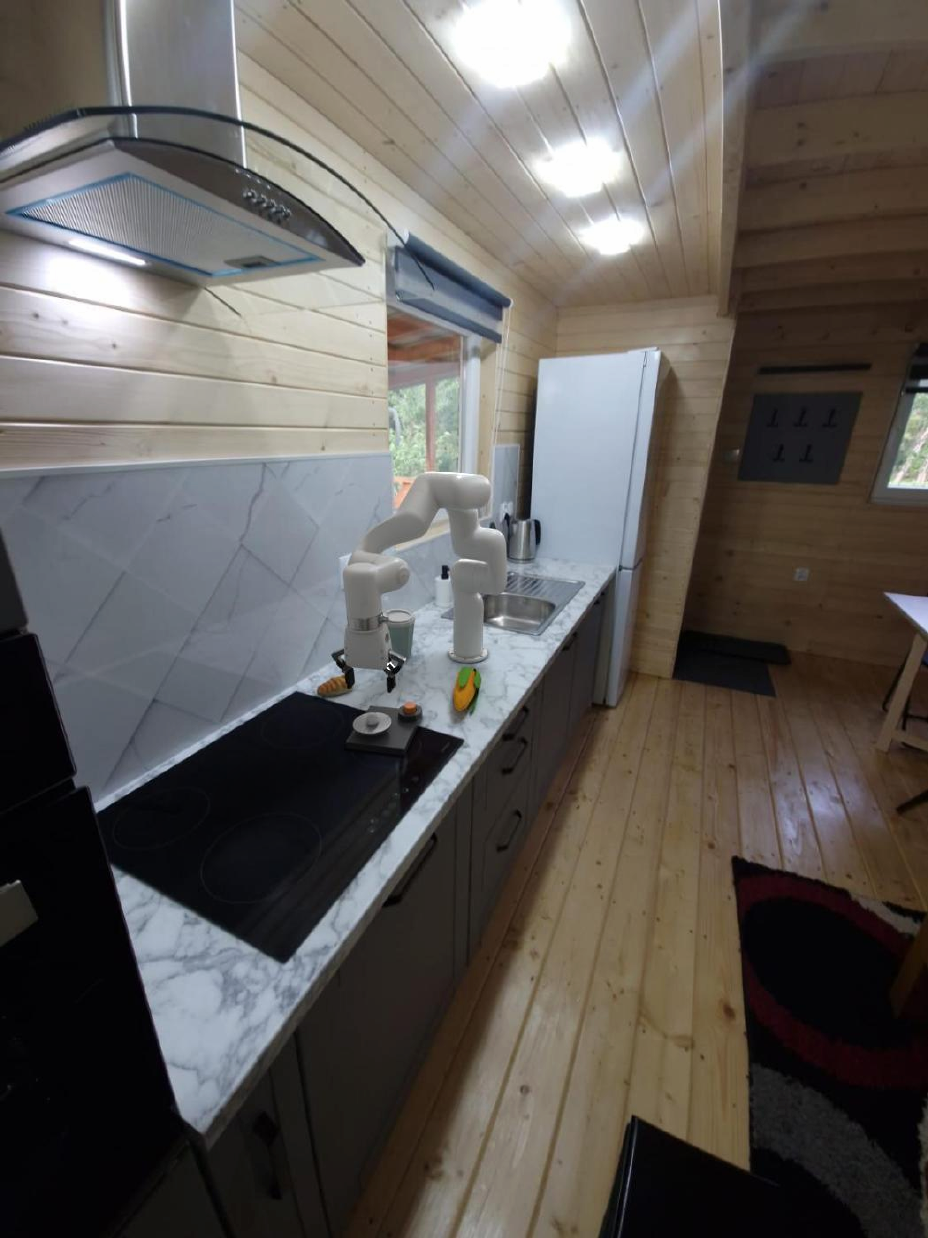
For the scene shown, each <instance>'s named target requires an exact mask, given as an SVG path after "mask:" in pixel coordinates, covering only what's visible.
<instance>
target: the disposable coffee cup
mask: <svg viewBox="0 0 928 1238" xmlns="http://www.w3.org/2000/svg"><path fill="white" fill-rule="evenodd" d="M383 615H384V616H385V617H388V618H389V621H388V623H386V624H387V627H388V631H389V634H390V639H391V645H392V651H394V652H396V653H397V654H399V655H401V656H403V657H405V658H406V661H407V660H408V659H411V655H412V648H413V640H414V632H415V623H416V615H414V613H412V612H411V611H410V610H407V609H404V608H392V609H391V608H390V609H388V610H386V611H383Z"/></svg>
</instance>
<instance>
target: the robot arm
mask: <svg viewBox="0 0 928 1238" xmlns="http://www.w3.org/2000/svg"><path fill="white" fill-rule="evenodd" d="M491 495H492V487H491V483H490V480H489V479H488V477H486V476H485V475H483V474H476V473H463V472H462V473H461V472H449V471H445V472H444V471H441V472H440V471H439V472H438V471H426V472H425V471H424V472H422V473H419V475H418V476H416V478H415V479H414V480H413V482H412V484H411V486H410V488H409V489H408V490H407V492H406V494H405V496H404V497H403V499H402V501H401V503H400V504H399V506H398V508H397V509H396V511H395V513H394V514H393V515H391V516H389V517H387V518H386V519H384V520H382V521H381V522H379V523H377V524H376V525H374V526H373V527H371V528H370V529H369V530H367V531H366V532H365V533H364V534H363V535H362V536H361V538H360V539H359V541H358V542H357V544H356V545H355V547H354V548H353V550H352V552H351V554H350V556H349V558H348V561H347V566H345V567H344V569H343V570H342V579H343V581H342V582H343V591H344V592H343V593H344V600H345V601H344V602H345V610H346V611H345V612H346V621H347V623H346V625H345V628H344V634H343V647H341V648H339V649H336V650H334V651H333V652H332V653H331V655H330V656H331V658H332V659H333V662H335V665H336V666H337V667H338V668H339V669H340V670H341V672H342V674H344V675H345V683H346V684H347V689H351V688H352V687H354V685H355V684H356V676H355V675H356V674H355V669H364V670H375V671H383V672H384V673H385V675H386V676H387V677H386V692H387V694H391V693H392V691H393V690H394V689H395V688H396V686H397V678H396V676H397V674H398V673H399V672H401V670H402V669H403V667H404V665H405V663H406V661H407V660H406V658H405V657H403V656H401V655H399V654H397V653H396V652H394V651H392V645H391V639H390V634H389V631H388V627H387V624H386V623H388V621H389V618H388V617H385V616H384V615H383V614H384V611H383V607H382V605H383V604H382V595H383V594H387V593H392V592H396V591H398V590H401V589H402V588H403V587H405V586H406V584H407V583H408V581H409V579H410V577H411V568H410V565H409V564H408V562H407V561H406V560H404V559H402V558H400V557H397V556H392V555H386V554H382V553H384V552H385V551H386V550H388V549H389V548H392V547H394V546H396V545H400V544H405V543H409V542H412V541H415V540H418V539H420V538H423V537H424V536H425V535H426V534H427V533H428V530H429V528H430V526H431V525H432V523H433V521H434V519H435V517H436V515H437V513H438V512H439V510H440V509H444V510H445V511H446V513H447V516H448V517H447V518H448V523H449V531H450V541H451V548H452V552H453V554H454V555H455V556H456V557H458V558H461V559H458V560H456V561H455V562H453V563H452V565H451V567H450V571H449V579H450V584H451V585H450V586H451V589H452V598H453V599H452V600H453V602H452V603H453V604H452V605H453V607H452V608H453V609H452V610H453V611H452V612H453V613H452V614H453V615H452V616H453V620H452V621H453V625H452V626H453V627H452V628H453V631H452V632H453V633H452V636H453V638H452V639H453V641H452V642H453V644H452V646H451V647H450V648H449V649H448V656H449V658H451V659H452V660H453V661H455V662H459V663H464V664H473V663H478V662H481V661H483V660H485V659H486V658H487V657H488V650H487V648H486V647H485V646H483V645H484V617H485V616H484V614H485V613H484V612H485V604H484V599H483V597H482V595H481V594H483V595H489V596H490V595H491V596H500V595H501V594H503V593H504V592H505V590H506V588H507V584H508V559H507V558H508V556H507V543H506V538H505V536H504V533H502V531H500V530H498V529H496V528H489V527H482V526H481V524H480V518H479V509H482V508H484V507H485V506H486V505H487V504H488V503H489V501H490V499H491ZM342 656H344V659H343V658H342ZM393 661H395V662H396V663H397V664H396V665H394V663H392V662H393ZM352 689H353V688H352Z"/></svg>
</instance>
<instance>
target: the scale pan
mask: <svg viewBox="0 0 928 1238" xmlns="http://www.w3.org/2000/svg"><path fill="white" fill-rule="evenodd" d="M365 713H366V712H365ZM365 713H363V714H361V715H359V716H357V717H356V718H355V719H354V720H353V721H352V729H353V730H354V731H355V732H357V733H358V734H361V735H365V736H374V735H378V734H381V733H384V732H385V731H387V730H388V729H389V728H390V726H391V719H390V717H389V716H388V715H386V714H384V713H379V712H376V714H377V715H378V716H379V722H378V723H377V724H376V725H368V724H367V723H366V717H367V716H368V714H370V713H366V714H365ZM371 713H374V712H371Z"/></svg>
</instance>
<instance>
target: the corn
mask: <svg viewBox="0 0 928 1238" xmlns="http://www.w3.org/2000/svg"><path fill="white" fill-rule="evenodd" d="M459 670H460V671H458V673H457V675H456V677H455V678H456V679H455V683H454V687H453V691H452V700H453V704H454V709H455V710H456V711H458V712H462V711H464V710H465V709H467V708H468V706H469V705H470V704H471V705H470V709H469V712H472V711H473V709H474V708H475V705H476V703H477V701H478V698H479V695H480V688H481V684H482V676H481V672H479V670H478V669H477V668H473V667H471V666H462V667H461V668H460V669H459Z"/></svg>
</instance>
